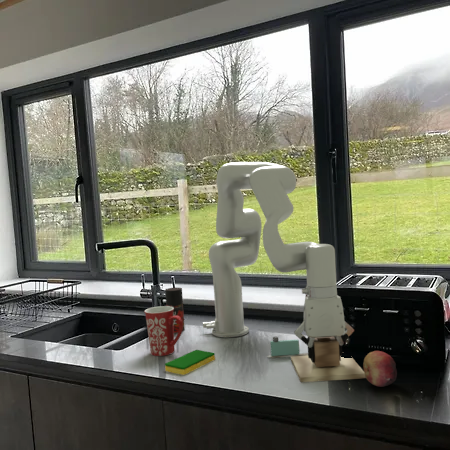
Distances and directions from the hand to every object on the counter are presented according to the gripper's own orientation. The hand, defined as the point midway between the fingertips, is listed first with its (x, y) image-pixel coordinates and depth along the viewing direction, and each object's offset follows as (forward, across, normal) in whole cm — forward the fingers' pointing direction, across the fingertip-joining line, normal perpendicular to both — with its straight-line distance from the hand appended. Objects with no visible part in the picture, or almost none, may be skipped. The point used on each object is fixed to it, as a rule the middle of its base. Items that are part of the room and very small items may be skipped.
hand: (325, 359), depth 128 cm
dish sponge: (+3, -36, +10) cm, 37 cm away
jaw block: (+1, 0, 0) cm, 1 cm away
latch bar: (+3, -9, +12) cm, 15 cm away
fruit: (+3, +10, -13) cm, 17 cm away
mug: (+3, -44, +22) cm, 49 cm away
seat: (+3, -3, +3) cm, 5 cm away
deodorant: (+3, -43, +47) cm, 64 cm away
